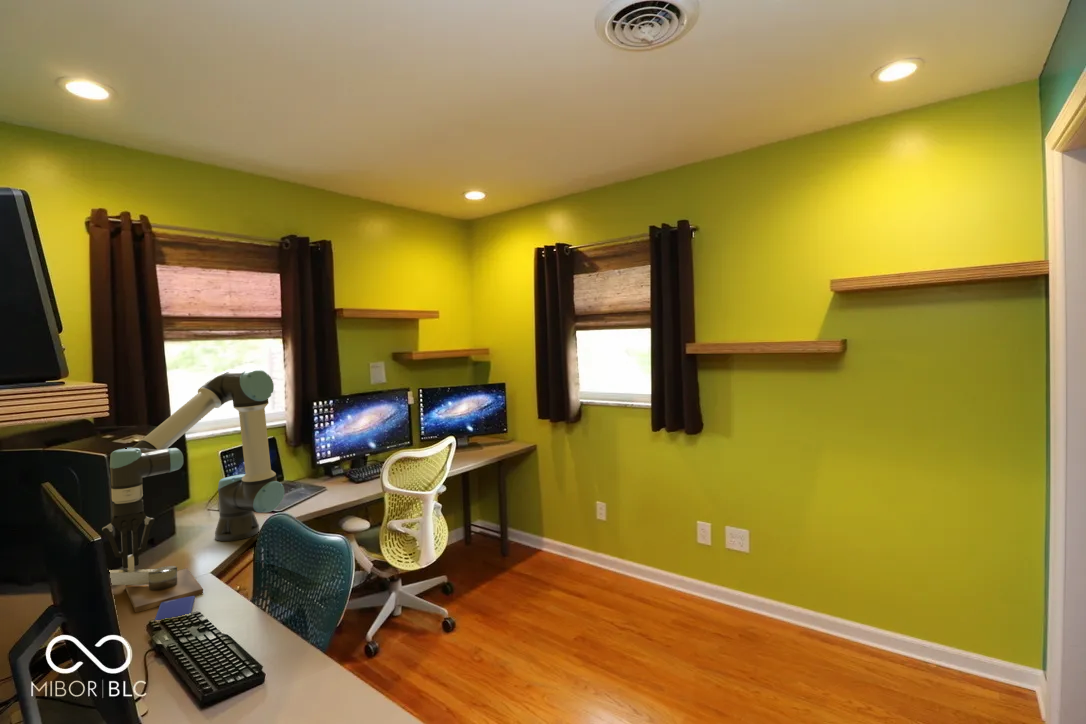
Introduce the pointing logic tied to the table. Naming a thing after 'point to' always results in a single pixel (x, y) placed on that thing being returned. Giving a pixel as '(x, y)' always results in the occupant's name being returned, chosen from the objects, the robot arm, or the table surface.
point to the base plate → (163, 592)
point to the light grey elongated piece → (146, 577)
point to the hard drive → (175, 608)
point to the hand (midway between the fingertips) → (131, 577)
